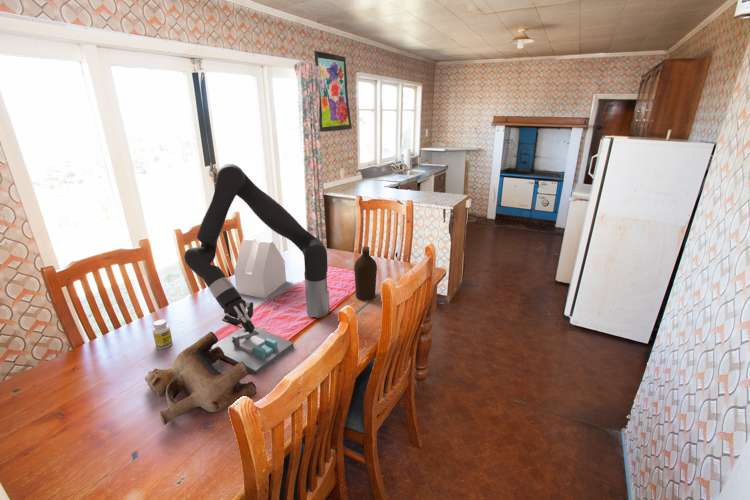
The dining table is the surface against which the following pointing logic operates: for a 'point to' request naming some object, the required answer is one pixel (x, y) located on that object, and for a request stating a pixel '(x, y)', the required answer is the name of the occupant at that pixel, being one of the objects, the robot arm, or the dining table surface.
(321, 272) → the robot arm
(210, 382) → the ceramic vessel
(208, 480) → the dining table surface
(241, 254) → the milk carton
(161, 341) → the supplement bottle
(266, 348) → the base plate
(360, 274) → the olive oil
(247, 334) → the latch lever
